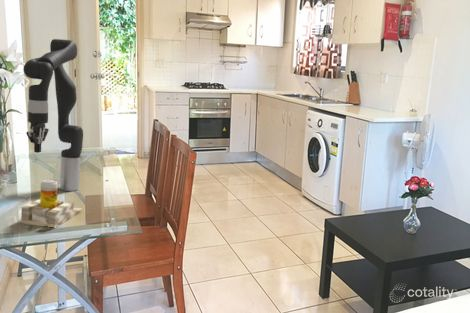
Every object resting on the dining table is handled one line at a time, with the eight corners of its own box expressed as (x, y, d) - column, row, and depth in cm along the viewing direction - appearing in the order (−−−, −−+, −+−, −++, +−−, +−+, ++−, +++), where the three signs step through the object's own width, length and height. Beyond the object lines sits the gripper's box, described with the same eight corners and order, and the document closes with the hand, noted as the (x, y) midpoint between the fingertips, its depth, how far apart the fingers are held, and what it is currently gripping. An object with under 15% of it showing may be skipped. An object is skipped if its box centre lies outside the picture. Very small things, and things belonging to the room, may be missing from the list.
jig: (52, 207, 181) (52, 193, 180) (82, 211, 180) (82, 197, 178) (21, 223, 159) (21, 207, 158) (54, 228, 158) (55, 212, 157)
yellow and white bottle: (50, 220, 162) (51, 183, 159) (36, 217, 163) (37, 181, 160) (59, 215, 168) (60, 180, 165) (46, 213, 169) (47, 178, 166)
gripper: (38, 108, 173) (37, 148, 176) (19, 111, 160) (19, 154, 163) (55, 110, 172) (54, 150, 176) (37, 113, 160) (37, 156, 163)
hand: (37, 152), depth 170 cm, fingers closed
